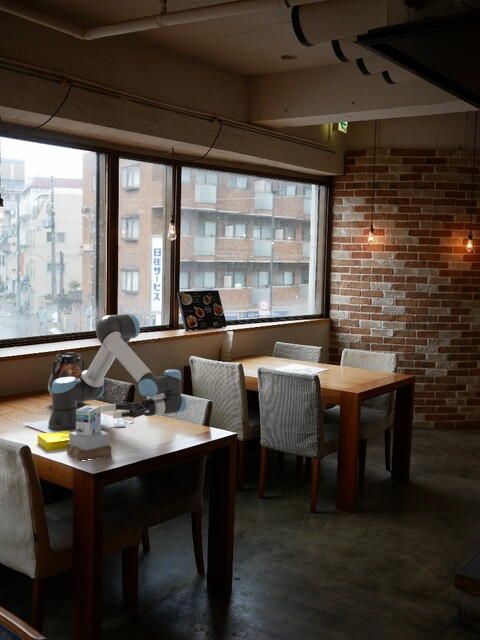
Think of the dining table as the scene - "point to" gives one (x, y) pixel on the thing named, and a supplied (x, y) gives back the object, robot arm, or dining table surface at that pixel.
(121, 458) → the dining table surface
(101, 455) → the tower base
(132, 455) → the dining table surface
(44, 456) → the dining table surface
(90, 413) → the light bulb box
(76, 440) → the tower top
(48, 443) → the element tile
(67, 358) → the amphora vase
